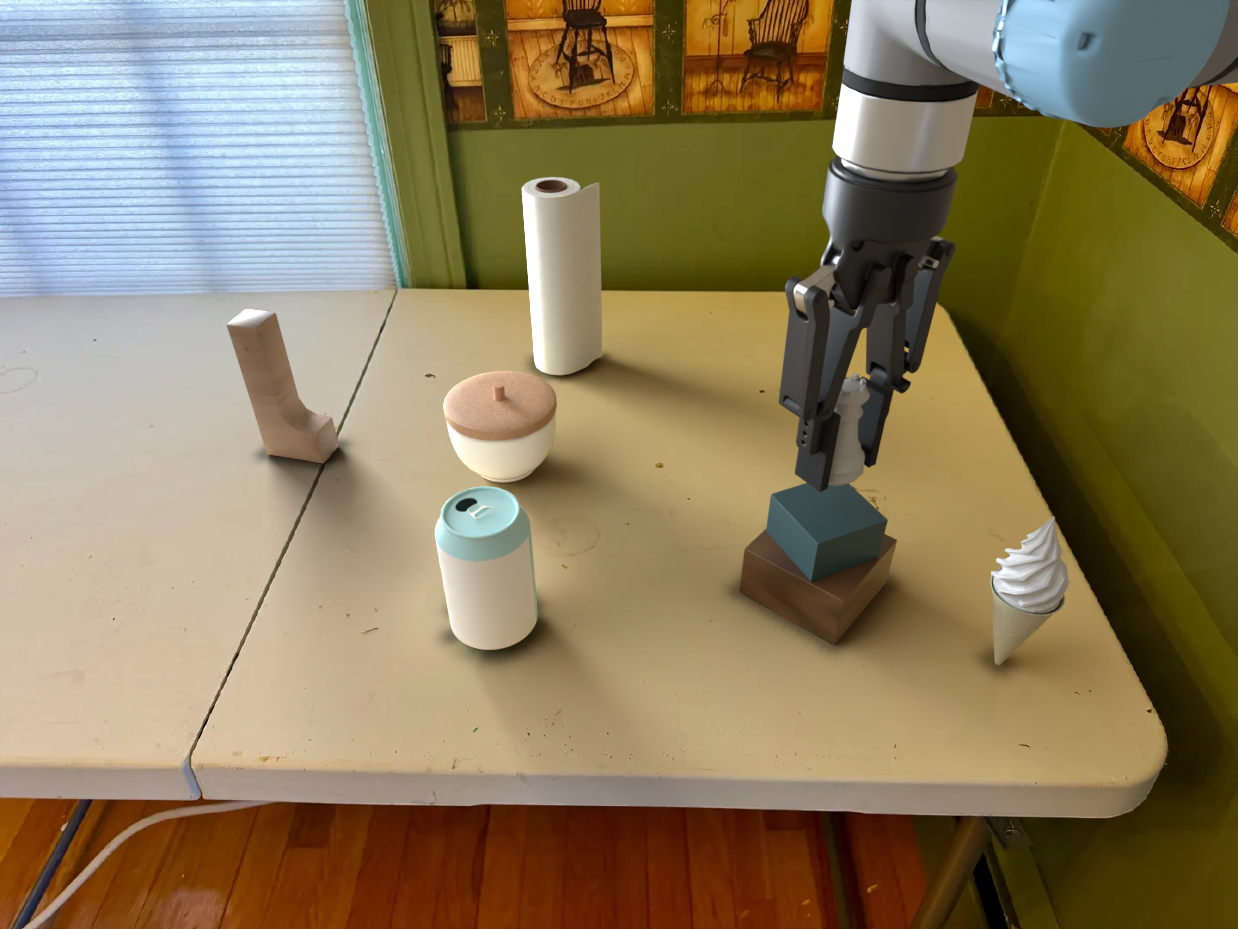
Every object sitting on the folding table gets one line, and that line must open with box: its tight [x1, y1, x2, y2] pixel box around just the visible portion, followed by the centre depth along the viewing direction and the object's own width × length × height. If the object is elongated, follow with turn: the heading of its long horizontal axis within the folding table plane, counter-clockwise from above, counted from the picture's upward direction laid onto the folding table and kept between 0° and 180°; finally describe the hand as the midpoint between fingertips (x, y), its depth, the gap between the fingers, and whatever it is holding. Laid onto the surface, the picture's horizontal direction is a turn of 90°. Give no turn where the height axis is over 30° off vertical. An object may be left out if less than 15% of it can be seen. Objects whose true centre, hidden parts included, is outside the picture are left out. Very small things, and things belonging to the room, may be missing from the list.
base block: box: [739, 528, 898, 646], centre depth 72 cm, size 9×9×5 cm
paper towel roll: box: [521, 176, 604, 376], centre depth 96 cm, size 7×6×21 cm
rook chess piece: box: [828, 372, 870, 486], centre depth 64 cm, size 4×4×8 cm
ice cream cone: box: [989, 515, 1071, 666], centre depth 63 cm, size 5×5×15 cm
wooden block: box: [226, 308, 340, 464], centre depth 85 cm, size 7×3×15 cm, turn 76°
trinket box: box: [442, 370, 558, 484], centre depth 85 cm, size 11×11×9 cm
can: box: [434, 485, 539, 651], centre depth 67 cm, size 7×7×12 cm
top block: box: [765, 482, 889, 582], centre depth 70 cm, size 6×6×4 cm
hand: (835, 468), depth 66 cm, fingers closed on rook chess piece, 4 cm apart
